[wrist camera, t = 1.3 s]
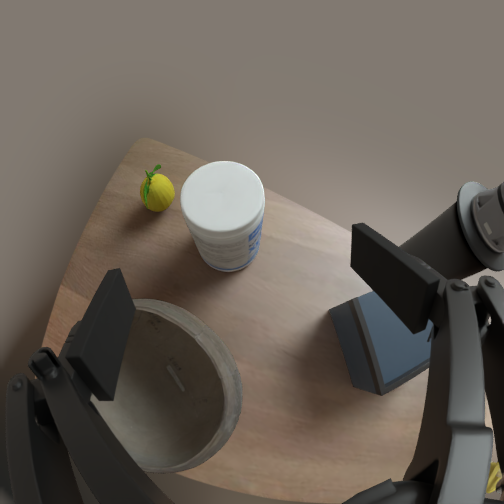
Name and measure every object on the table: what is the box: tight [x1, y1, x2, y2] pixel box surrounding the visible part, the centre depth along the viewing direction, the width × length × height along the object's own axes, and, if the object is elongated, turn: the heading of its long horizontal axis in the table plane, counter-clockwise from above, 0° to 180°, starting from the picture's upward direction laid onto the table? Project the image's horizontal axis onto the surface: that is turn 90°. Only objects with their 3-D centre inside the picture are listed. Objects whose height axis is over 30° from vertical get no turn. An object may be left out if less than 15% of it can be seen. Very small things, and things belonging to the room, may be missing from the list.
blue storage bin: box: [329, 291, 433, 396], centre depth 34 cm, size 13×13×10 cm
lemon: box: [140, 164, 175, 212], centre depth 40 cm, size 7×6×10 cm
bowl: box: [90, 299, 242, 473], centre depth 28 cm, size 21×21×15 cm
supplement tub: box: [180, 161, 265, 272], centre depth 35 cm, size 10×10×15 cm
